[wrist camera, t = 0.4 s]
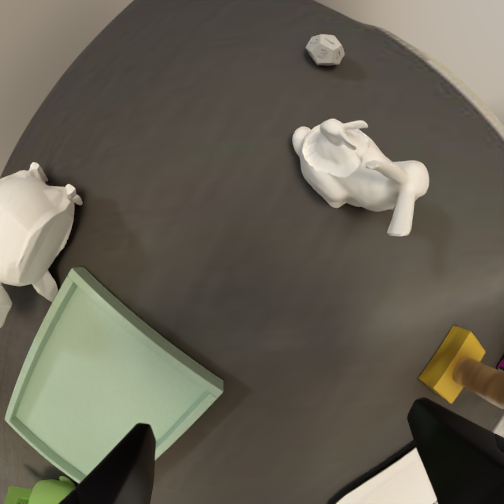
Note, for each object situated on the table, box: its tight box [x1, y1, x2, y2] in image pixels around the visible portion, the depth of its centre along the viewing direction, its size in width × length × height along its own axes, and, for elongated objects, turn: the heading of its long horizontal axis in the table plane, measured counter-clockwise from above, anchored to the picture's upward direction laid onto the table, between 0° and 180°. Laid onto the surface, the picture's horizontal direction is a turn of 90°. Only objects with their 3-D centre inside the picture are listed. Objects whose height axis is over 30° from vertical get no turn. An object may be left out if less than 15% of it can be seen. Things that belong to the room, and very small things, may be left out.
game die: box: [306, 34, 345, 66], centre depth 22 cm, size 4×4×3 cm
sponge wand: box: [418, 325, 504, 410], centre depth 18 cm, size 7×5×14 cm
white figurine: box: [292, 119, 429, 236], centre depth 19 cm, size 12×8×10 cm, turn 55°
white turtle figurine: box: [0, 162, 83, 329], centre depth 17 cm, size 9×8×15 cm
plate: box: [335, 447, 437, 504], centre depth 25 cm, size 22×22×2 cm
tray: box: [5, 267, 223, 483], centre depth 21 cm, size 24×16×2 cm, turn 141°
